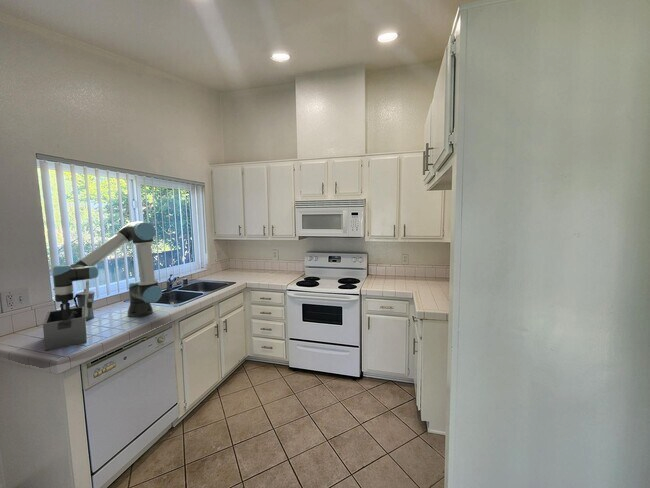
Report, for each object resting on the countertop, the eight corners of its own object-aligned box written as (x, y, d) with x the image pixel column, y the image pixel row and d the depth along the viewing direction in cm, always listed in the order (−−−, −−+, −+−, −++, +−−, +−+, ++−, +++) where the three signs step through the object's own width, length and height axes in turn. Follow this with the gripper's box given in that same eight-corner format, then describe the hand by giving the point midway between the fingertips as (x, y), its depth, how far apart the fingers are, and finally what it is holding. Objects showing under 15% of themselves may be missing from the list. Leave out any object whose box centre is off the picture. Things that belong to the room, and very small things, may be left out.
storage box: (86, 328, 180) (84, 306, 179) (86, 345, 156) (84, 319, 155) (49, 335, 170) (47, 311, 168) (44, 354, 146) (41, 327, 145)
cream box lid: (84, 306, 179) (90, 305, 180) (84, 321, 153) (91, 320, 154) (85, 279, 178) (91, 278, 180) (86, 289, 152) (92, 289, 154)
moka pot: (101, 315, 206) (99, 286, 204) (84, 322, 190) (82, 292, 188) (87, 315, 205) (85, 286, 204) (68, 323, 190) (66, 292, 188)
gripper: (56, 290, 169) (59, 328, 171) (53, 298, 152) (56, 341, 154) (73, 288, 174) (76, 325, 176) (72, 296, 156) (75, 337, 158)
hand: (67, 332), depth 165 cm, fingers open, 9 cm apart
